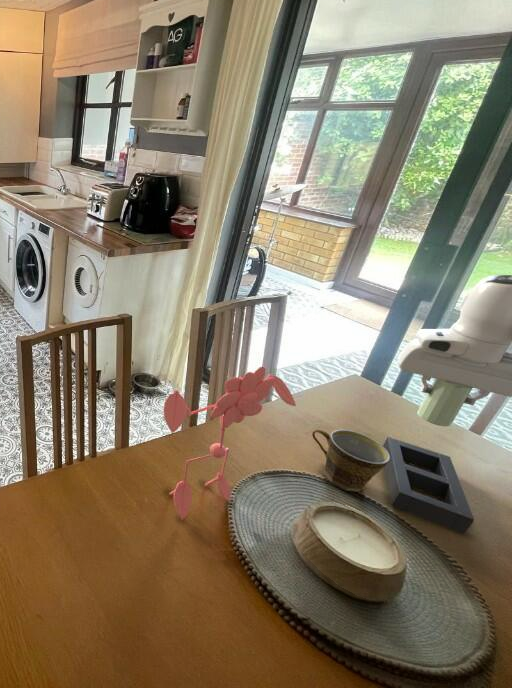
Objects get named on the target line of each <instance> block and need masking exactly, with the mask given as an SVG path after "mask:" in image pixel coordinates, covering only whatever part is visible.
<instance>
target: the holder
mask: <svg viewBox="0 0 512 688" xmlns="http://www.w3.org/2000/svg"><path fill="white" fill-rule="evenodd" d="M382 446H383V447H384V448H385V449H386V450H387V452H388V453H389V455H390V460H389V462H388V463H387V464H386V465H385V466H384V467H383V468H384V471H385V477H386V482H387V488H388V492H389V498H390V503H391V506H392V507H395V508H397V509H398V510H399V509H400V510H402V511H405V512H407V513H410V514H412V515H415V516H418V517H420V518H422V519H426V520H428V521H432V522H433V523H435V524H439V525H441V526H444V527H446V528H448V529H451V530H453V531H457V532H459V533H462V534H465V533H466V532H467V531H468V530H469V528H470V527H471V525H472V524H473V523H474V521H475V517H474V515H473V512H472V510H471V508H470V505H469V502H468V499H467V497H466V495H465V492H464V489H463V486H462V484H461V482H460V479H459V477H458V474H457V471H456V469H455V466H454V464H453V461H452V459H451V456H448V455H445V454H443V453H439V452H436V451H434V450H431V449H428V448H424V447H421V446H418V445H415V444H411V443H408V442H405V441H402V440H398V439H396V438H392V437H389V436H387V437H386V439H385V441H384V443H383V445H382ZM421 468H422V469H421ZM424 469H425V470H424ZM412 488H413V489H416V490H419V491H420V492H424V493H427V494H429V495H433V496H435V497H437V498H440V500H439V499H437V498H433V497H430V496H428V495H425V494H422V493H420V492H418V491H417V492H416V491H414V490H412Z"/></svg>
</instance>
